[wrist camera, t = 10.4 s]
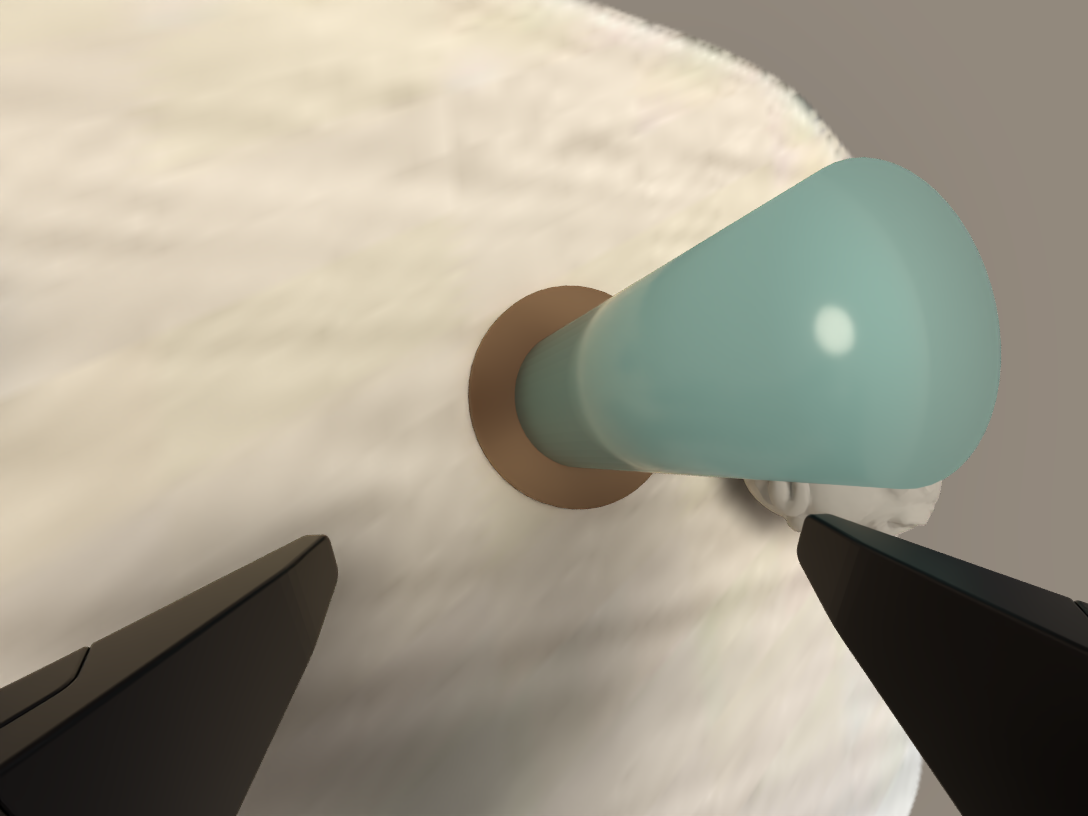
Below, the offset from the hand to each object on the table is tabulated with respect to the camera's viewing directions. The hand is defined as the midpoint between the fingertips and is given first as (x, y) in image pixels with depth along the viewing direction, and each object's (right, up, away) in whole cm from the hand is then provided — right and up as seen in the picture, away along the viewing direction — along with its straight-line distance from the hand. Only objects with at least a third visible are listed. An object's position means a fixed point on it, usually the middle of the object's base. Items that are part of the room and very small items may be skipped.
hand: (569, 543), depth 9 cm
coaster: (+1, +3, +11) cm, 12 cm away
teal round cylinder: (+1, +3, +11) cm, 11 cm away
